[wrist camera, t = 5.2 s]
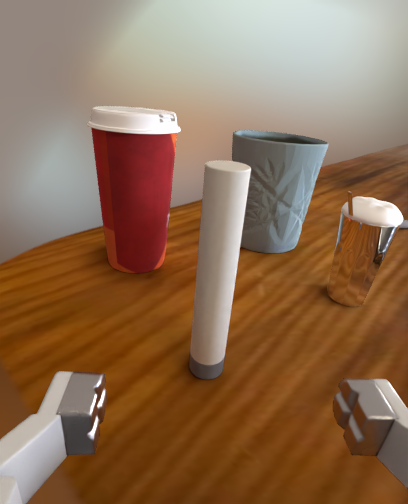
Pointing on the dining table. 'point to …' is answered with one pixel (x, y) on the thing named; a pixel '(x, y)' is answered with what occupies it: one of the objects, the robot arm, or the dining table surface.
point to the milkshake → (361, 247)
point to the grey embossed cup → (277, 186)
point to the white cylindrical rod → (217, 263)
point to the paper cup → (134, 182)
